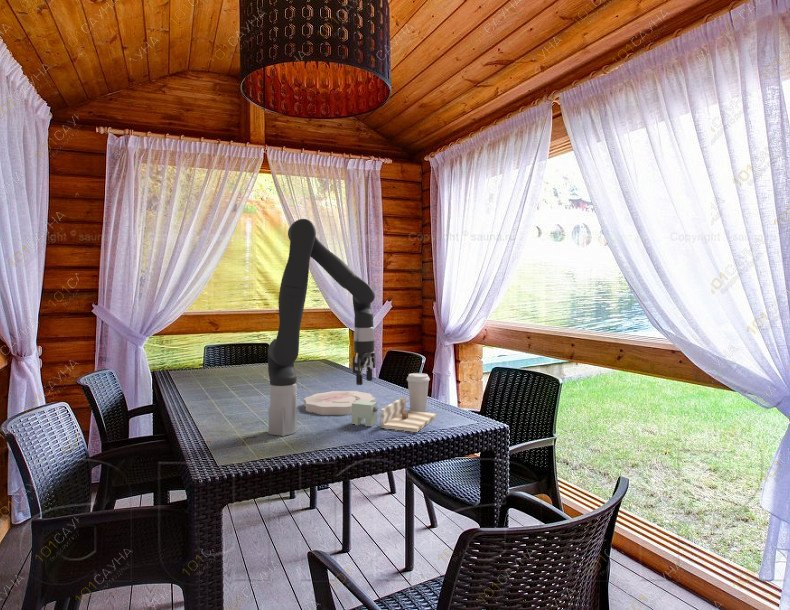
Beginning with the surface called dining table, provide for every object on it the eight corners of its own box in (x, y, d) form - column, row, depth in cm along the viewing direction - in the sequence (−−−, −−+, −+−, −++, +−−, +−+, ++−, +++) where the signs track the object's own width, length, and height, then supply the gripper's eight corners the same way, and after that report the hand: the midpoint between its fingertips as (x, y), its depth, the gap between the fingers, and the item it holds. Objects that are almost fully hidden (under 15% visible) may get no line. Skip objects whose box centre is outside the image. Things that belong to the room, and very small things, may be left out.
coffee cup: (403, 409, 206) (403, 373, 205) (423, 407, 209) (423, 372, 209) (412, 414, 197) (412, 377, 196) (433, 412, 201) (433, 376, 200)
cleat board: (417, 433, 173) (417, 413, 172) (380, 428, 178) (380, 409, 178) (436, 417, 193) (436, 399, 193) (403, 413, 198) (403, 396, 198)
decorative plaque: (338, 388, 232) (388, 396, 214) (338, 395, 233) (388, 405, 214) (289, 399, 208) (341, 410, 190) (289, 408, 209) (341, 420, 190)
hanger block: (373, 427, 180) (373, 405, 179) (351, 424, 183) (351, 403, 183) (379, 423, 184) (379, 402, 184) (357, 421, 188) (357, 400, 187)
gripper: (364, 341, 174) (365, 387, 175) (381, 337, 188) (381, 379, 188) (346, 341, 177) (346, 385, 178) (363, 336, 190) (363, 378, 191)
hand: (364, 382), depth 183 cm, fingers open, 8 cm apart
